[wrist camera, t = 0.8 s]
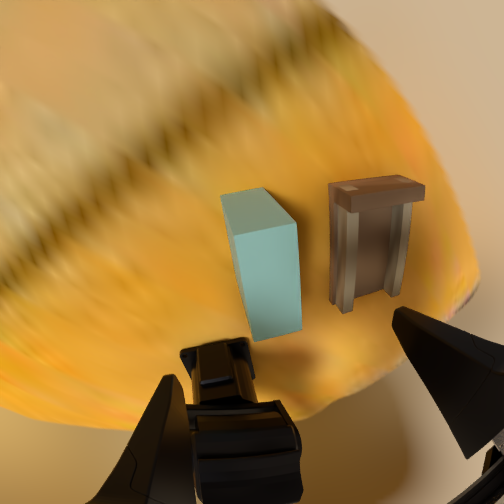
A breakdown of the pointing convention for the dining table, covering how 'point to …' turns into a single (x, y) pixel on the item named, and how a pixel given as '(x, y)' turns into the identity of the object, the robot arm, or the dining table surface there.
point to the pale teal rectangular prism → (264, 261)
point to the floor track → (369, 236)
